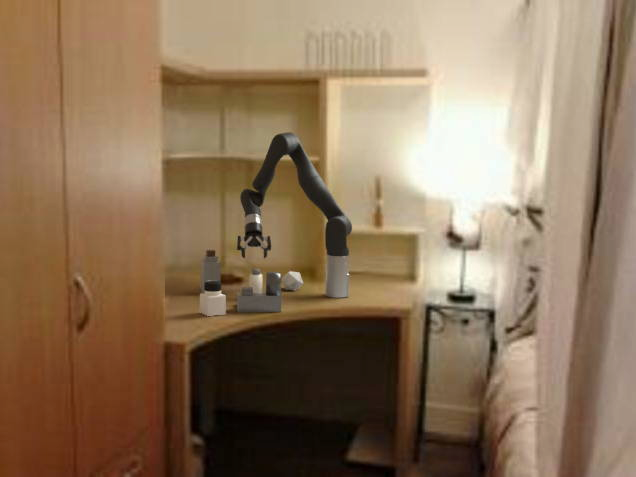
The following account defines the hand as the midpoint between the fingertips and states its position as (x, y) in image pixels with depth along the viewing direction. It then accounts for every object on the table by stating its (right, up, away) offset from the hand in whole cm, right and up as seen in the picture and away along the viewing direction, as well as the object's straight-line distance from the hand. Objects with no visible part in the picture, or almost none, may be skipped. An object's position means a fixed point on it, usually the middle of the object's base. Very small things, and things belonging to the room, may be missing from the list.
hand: (254, 257), depth 270 cm
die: (+15, -15, +11) cm, 24 cm away
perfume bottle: (-18, -15, -1) cm, 24 cm away
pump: (+1, -17, -9) cm, 19 cm away
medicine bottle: (-12, -20, -36) cm, 43 cm away
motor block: (+4, -18, -25) cm, 31 cm away
